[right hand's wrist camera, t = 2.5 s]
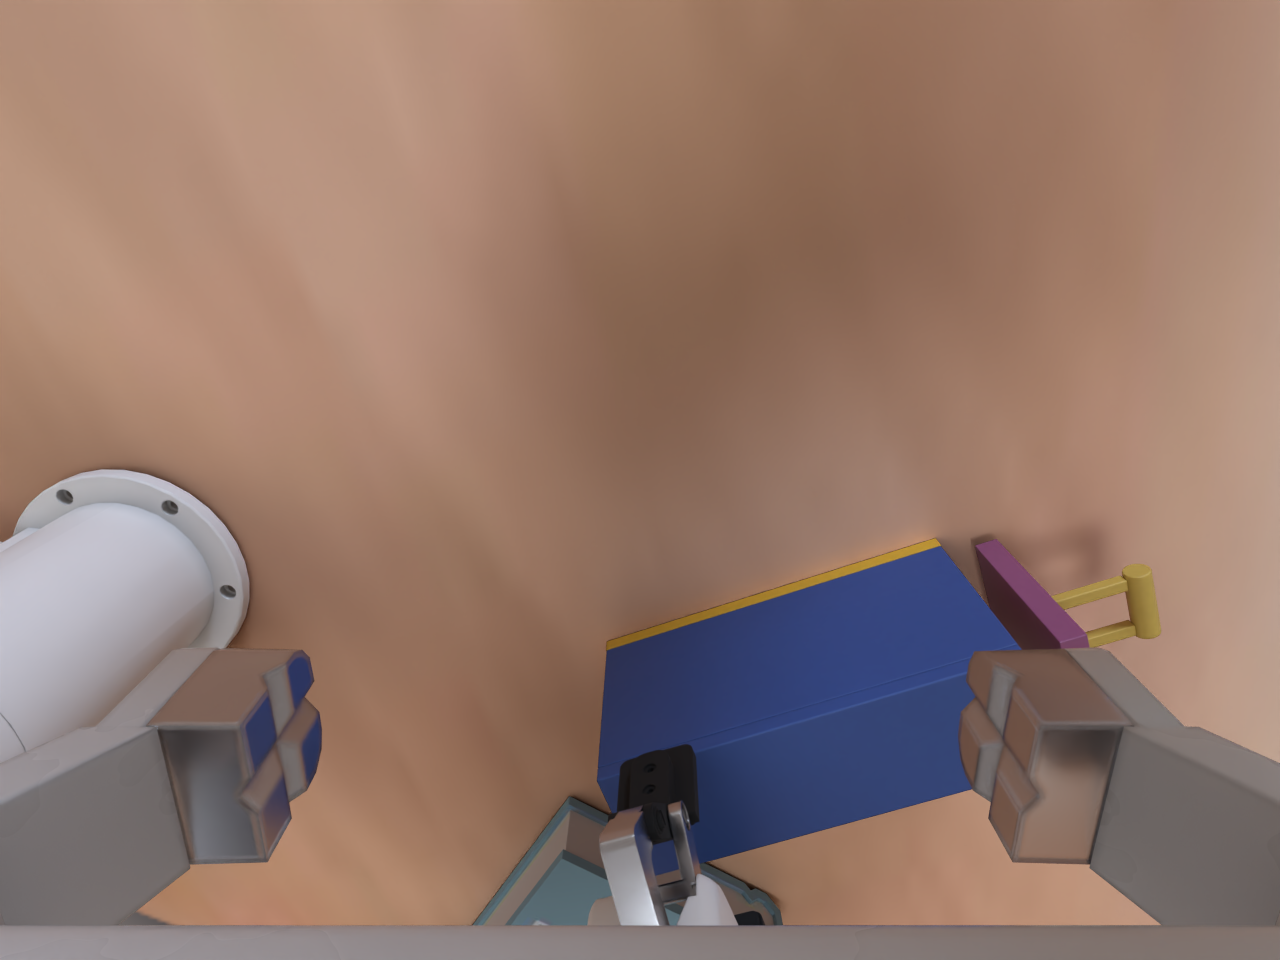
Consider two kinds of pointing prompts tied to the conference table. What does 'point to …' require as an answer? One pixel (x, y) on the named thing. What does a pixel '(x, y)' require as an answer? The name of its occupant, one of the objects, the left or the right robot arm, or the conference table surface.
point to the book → (588, 878)
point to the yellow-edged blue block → (805, 699)
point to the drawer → (1063, 604)
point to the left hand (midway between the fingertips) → (695, 842)
